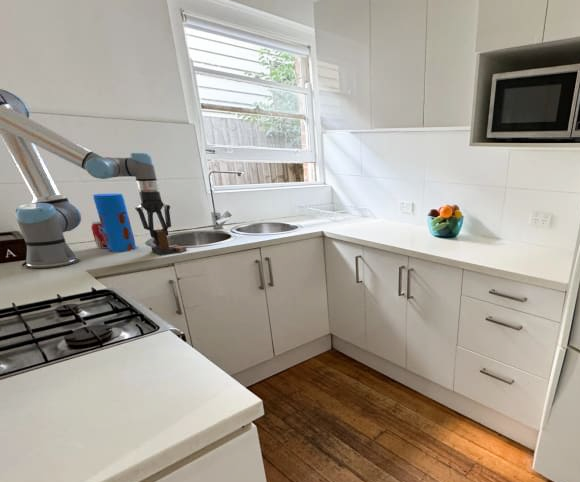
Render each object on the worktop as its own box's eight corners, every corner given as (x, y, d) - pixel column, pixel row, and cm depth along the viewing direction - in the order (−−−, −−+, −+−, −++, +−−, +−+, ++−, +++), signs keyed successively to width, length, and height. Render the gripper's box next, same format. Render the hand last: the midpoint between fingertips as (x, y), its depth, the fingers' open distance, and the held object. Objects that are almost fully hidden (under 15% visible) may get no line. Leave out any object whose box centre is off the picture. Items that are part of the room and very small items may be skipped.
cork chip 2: (172, 252, 178) (172, 247, 177) (179, 250, 182) (178, 245, 181) (180, 252, 177) (179, 248, 177) (186, 250, 181) (185, 246, 180)
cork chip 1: (171, 251, 179) (170, 247, 178) (167, 249, 181) (166, 245, 181) (180, 249, 182) (179, 245, 181) (176, 248, 184) (175, 244, 184)
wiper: (160, 255, 172) (155, 233, 168) (152, 251, 178) (147, 230, 174) (175, 252, 177) (170, 231, 173) (166, 249, 182) (161, 228, 178)
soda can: (100, 249, 179) (92, 224, 174) (95, 247, 183) (87, 222, 178) (117, 247, 184) (110, 222, 179) (112, 245, 188) (105, 220, 183)
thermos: (103, 249, 179) (87, 194, 170) (128, 245, 188) (114, 192, 178) (116, 252, 174) (100, 196, 165) (141, 248, 183) (127, 194, 174)
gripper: (130, 192, 159) (144, 247, 168) (172, 190, 171) (183, 242, 179) (124, 191, 163) (138, 245, 172) (165, 189, 175) (177, 240, 184)
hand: (161, 243), depth 176 cm, fingers closed on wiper, 3 cm apart
